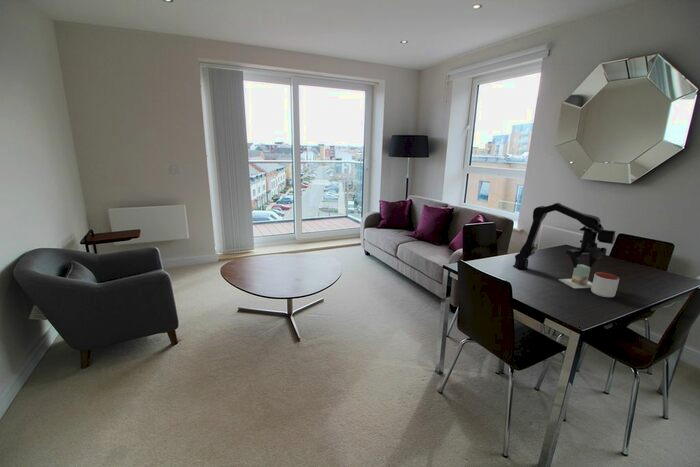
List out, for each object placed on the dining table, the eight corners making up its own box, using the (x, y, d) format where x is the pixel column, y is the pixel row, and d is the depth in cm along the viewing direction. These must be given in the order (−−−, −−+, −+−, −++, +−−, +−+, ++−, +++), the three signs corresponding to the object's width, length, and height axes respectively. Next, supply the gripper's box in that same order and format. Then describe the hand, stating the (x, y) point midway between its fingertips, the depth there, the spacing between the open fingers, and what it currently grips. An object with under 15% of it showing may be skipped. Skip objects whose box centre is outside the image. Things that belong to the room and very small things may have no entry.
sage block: (580, 276, 174) (582, 268, 172) (573, 273, 178) (574, 264, 177) (588, 276, 174) (590, 267, 173) (581, 273, 179) (583, 264, 178)
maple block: (578, 285, 175) (580, 276, 174) (571, 281, 180) (573, 273, 179) (586, 284, 176) (588, 276, 174) (579, 281, 180) (581, 272, 179)
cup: (610, 291, 169) (614, 273, 166) (618, 299, 160) (623, 281, 157) (587, 288, 172) (591, 271, 169) (594, 296, 163) (598, 278, 160)
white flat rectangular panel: (574, 288, 171) (574, 288, 171) (557, 279, 183) (557, 279, 183) (601, 287, 173) (601, 287, 173) (583, 279, 184) (583, 278, 184)
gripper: (585, 244, 162) (578, 273, 166) (618, 244, 164) (611, 272, 169) (568, 238, 173) (562, 265, 177) (599, 238, 175) (593, 265, 179)
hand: (582, 267), depth 175 cm, fingers open, 9 cm apart
